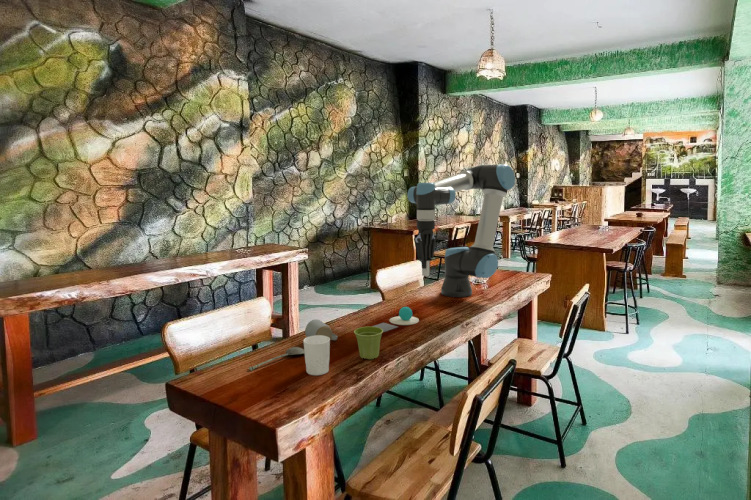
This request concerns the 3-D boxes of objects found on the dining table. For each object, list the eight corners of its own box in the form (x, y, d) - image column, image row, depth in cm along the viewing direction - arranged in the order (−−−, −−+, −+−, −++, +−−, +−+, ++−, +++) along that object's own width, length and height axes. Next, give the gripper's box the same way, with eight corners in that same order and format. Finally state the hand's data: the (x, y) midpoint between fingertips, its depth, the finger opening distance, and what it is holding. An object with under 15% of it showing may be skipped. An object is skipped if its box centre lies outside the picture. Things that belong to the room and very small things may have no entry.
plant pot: (362, 363, 149) (362, 337, 148) (350, 354, 158) (349, 329, 156) (388, 358, 154) (388, 332, 152) (375, 349, 162) (374, 324, 161)
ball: (401, 320, 197) (406, 308, 198) (412, 323, 193) (416, 311, 194) (394, 315, 193) (399, 303, 195) (404, 318, 189) (409, 305, 191)
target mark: (402, 314, 202) (402, 314, 202) (425, 320, 194) (425, 319, 194) (383, 320, 193) (383, 320, 193) (405, 327, 185) (405, 326, 185)
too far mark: (383, 323, 191) (383, 322, 191) (398, 327, 185) (398, 326, 185) (369, 327, 185) (369, 327, 185) (384, 332, 179) (384, 331, 179)
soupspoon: (312, 356, 160) (300, 352, 164) (311, 346, 159) (299, 343, 164) (255, 374, 144) (244, 369, 148) (255, 363, 143) (243, 359, 148)
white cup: (305, 366, 148) (304, 335, 146) (330, 365, 149) (329, 334, 147) (303, 377, 140) (302, 344, 139) (330, 375, 141) (329, 343, 139)
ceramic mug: (315, 348, 164) (315, 326, 163) (304, 341, 171) (304, 320, 169) (342, 342, 170) (341, 321, 169) (330, 336, 177) (330, 316, 176)
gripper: (428, 218, 204) (428, 272, 208) (408, 220, 195) (408, 276, 199) (442, 219, 199) (442, 274, 203) (422, 221, 190) (422, 279, 194)
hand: (425, 275), depth 201 cm, fingers closed
